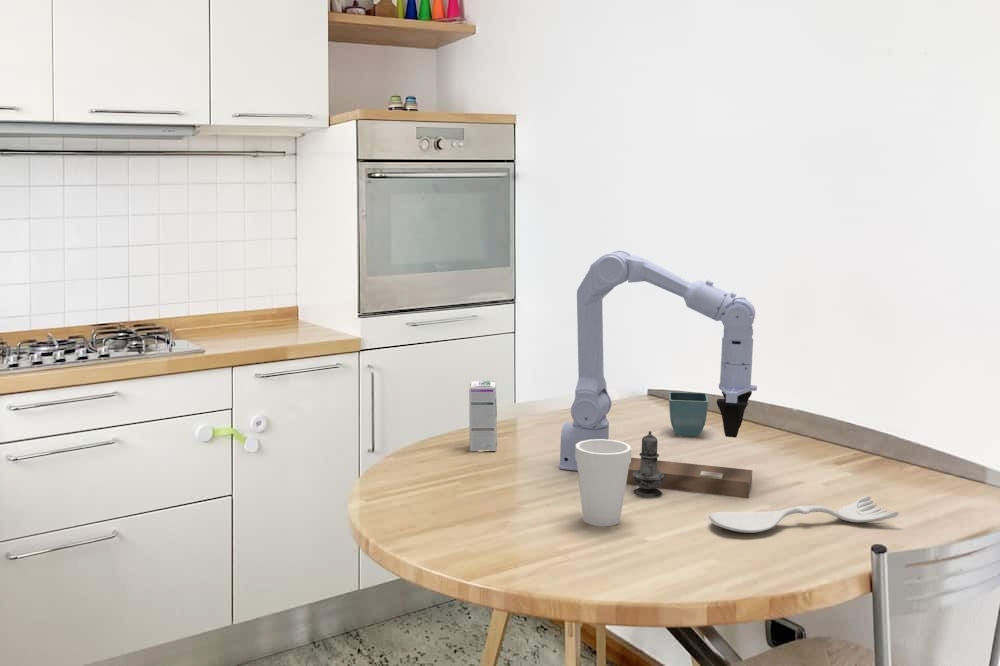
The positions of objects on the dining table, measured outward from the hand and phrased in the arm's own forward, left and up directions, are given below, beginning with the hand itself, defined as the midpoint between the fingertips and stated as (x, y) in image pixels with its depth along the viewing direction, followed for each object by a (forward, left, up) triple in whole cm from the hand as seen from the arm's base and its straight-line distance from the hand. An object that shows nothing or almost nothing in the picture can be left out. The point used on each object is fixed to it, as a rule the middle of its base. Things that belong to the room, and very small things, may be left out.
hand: (732, 431), depth 180 cm
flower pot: (-13, +33, -10) cm, 37 cm away
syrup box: (-53, +5, -10) cm, 54 cm away
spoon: (+13, -20, -11) cm, 26 cm away
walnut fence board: (-8, -4, -10) cm, 14 cm away
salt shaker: (-14, -12, -10) cm, 21 cm away
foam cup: (-19, -29, -10) cm, 36 cm away
